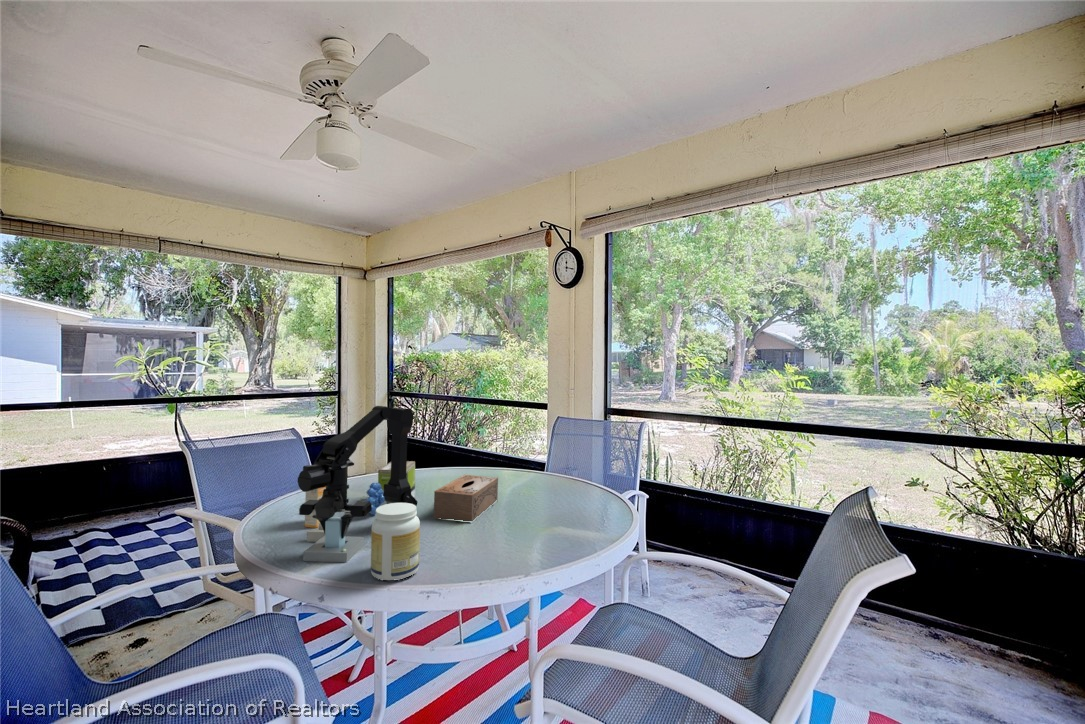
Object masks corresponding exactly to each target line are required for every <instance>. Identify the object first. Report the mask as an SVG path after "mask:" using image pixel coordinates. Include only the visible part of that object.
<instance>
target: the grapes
mask: <svg viewBox="0 0 1085 724" xmlns="http://www.w3.org/2000/svg"><path fill="white" fill-rule="evenodd" d="M368 488H369V489H367V491H366V494H367V496H368V497H367V498H365V501H369V502H370V503H371V505H372V511H370V512H369V513H368V514H370V515H372V516H375V514H376V509H377V508H378V507H380V505H381V503H384V502H385V499H384V496H383V495H382V494H383V493H384V492H383V490H382V489H381V485H380V484H379V483H378V482H372V483H371V484H370V485H369V486H368Z"/></svg>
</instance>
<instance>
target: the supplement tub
mask: <svg viewBox="0 0 1085 724" xmlns="http://www.w3.org/2000/svg"><path fill="white" fill-rule="evenodd" d="M417 514H418V512H417V506H415V505H414V504H410V503H390V504H385V505H382V506H380V507H378V508H377V509H376V514H375V515H374V517H375V519H373V521H372V523H371V534H370V535H371V536H370V537H371V539H370V540H371V541H370V544H371V545H370V573H371V575H372V577H374V578H375V577H376V578H378V579H377V580H379V579H383V580H394V579H401V578H405V577H408V576H411V575H412V576H414V575H415V574H416V573H417V572H418V571H419V567H420V543H421V542H420V538H421V537H420V536H421V534H420V533H421V531H420V529H421V525H420V524H421V521H420V519H419V517H418V516H417ZM414 573H415V574H414ZM413 574H414V575H413ZM412 576H411V577H412ZM376 578H375V579H376ZM383 580H382V581H383Z"/></svg>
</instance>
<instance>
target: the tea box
mask: <svg viewBox="0 0 1085 724" xmlns="http://www.w3.org/2000/svg"><path fill="white" fill-rule="evenodd" d="M377 473H378V475H377V479H378V480H377V483H379V484H380V485H381V489H382V490H383V492H384V487H383V486H384V484H387V483H388V482H389V480H390V478H391V461H390V462H388V463H386V464H385V465H383V466H382V467H380V468H378V470H377ZM406 478H407V480H408V482H409V484H410V486H411V495H412V496H413V497H414V498H416V461H415V460H414V461H413V460H411V461H409V460H407V467H406ZM382 495H383V494H382ZM385 504H387V502H386V501H385V502H384V503H381V505H380V506H382V505H385Z"/></svg>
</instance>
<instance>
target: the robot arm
mask: <svg viewBox="0 0 1085 724" xmlns="http://www.w3.org/2000/svg"><path fill="white" fill-rule="evenodd" d="M414 417H415V415H414V412H413V410H412V409H410V408H404V407H394V406H393V407H388V406H384V405H376V406H373V407H372V409H371V410H370V411H369V412H368V413H366V414H365V415H364V416H363V417H362V418H361V419H359V420H358V421H357V422H356V423H355V424H353V425H352V426H350V428H349V429H347V430H346V431H344V432H342V433H340V434H339V433H338V434H337V435H334V436H332V437H331V438H329V439H327V440H326V441H324V443H323V447H322V449H321V450H320V452H319V454H318V455H317V457H316V459H315V460H314V462H313V464H310V465H309V464H307V465H303V466H302V471H300V472H299V474H298V477H297V485H298V488H299V489H300V490H301V492H303V493H306V492H307V491H311V490H315V489H319V488H323V487H326V488H325V489H324V490H323V496H322V498H321V499H320V500H308V501H307V502H305V501H304V502H303V503H302V504H300V505H299V508H298V515H299V516H305V515H310V514H311V513H312V512H313V511H314V515H313V516H312V517H313V518H316V519H317V520H319V522H320V523H321V525H322V528H323V530H324V533H325V522H326V520H328V519H329V518H331V517H335V516H336V515H335V514H336V513H341V512H344V514H343V516H340V517H341V520H342V530H341V538H342V539H343V538H344V537H345V536H346V534H347V531H348V529H349V527H350V525H351V523H352V521H353V519H354V518H355V517H360V518H363V517H365V516H367V515H368V514H370V513H369V512H370V511H372V505H371V503H370V502H369V501H366V500H363V501H362V500H357V502H355V503H353V504H348V503H349V502H350V499H349V498H348V489H350V484H348V474H349V473H348V471H349V470H348V467H353V466H355V462H353V461H352V460H351V459H350V457H351V456H352V455H353V454H354V453H355V452H356V450H357V447H358V444H359V443H360V442H361V441H362V440H363V439H364V438H366V437H367V436H368V435H369V434H371V432H373V430H375V429H376V428H377V427H378V426H379V425H380V424H381V423H382V422H383V421H386V424H387V428H388V430H389V432H390V434H391V455H390V456H391V457H390V458H391V459H390V460H391V461H390V462H391V478H390V480H389V482H388V483H387V484H384V486H383V487H384V493H383V496H384V499H385V501H386V502H387V504H390V503H410V504H414V505H415V506H416V507H417V506H418V500H417V499H416V497H413V496H412V495H411V486H410V484H409V482H408V480H407V478H406V467H407V461H408V457H407V456H408V434H410V432H411V430H412V428H413V424H414Z"/></svg>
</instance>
